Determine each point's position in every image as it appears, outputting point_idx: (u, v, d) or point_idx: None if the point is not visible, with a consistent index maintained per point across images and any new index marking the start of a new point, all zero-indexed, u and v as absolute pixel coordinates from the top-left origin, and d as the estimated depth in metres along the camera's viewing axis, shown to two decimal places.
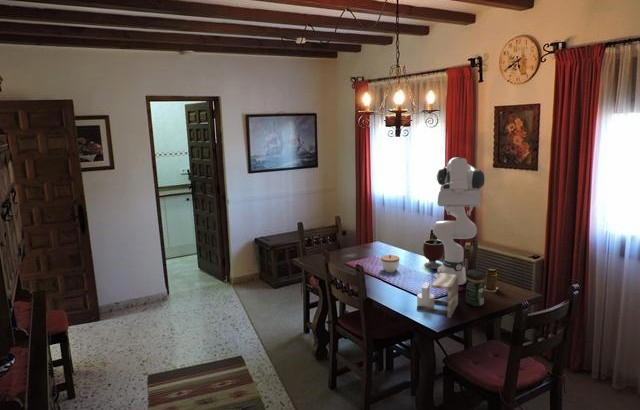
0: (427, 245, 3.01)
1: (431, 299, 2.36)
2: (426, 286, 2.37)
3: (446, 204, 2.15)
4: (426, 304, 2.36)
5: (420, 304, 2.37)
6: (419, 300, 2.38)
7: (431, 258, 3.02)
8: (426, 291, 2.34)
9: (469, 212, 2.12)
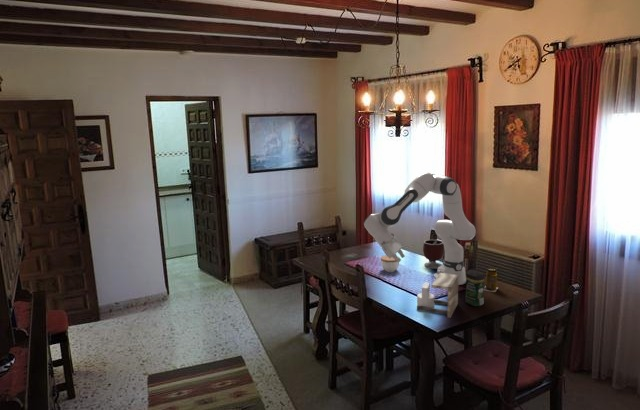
0: (427, 245, 3.01)
1: (431, 299, 2.36)
2: (426, 286, 2.37)
3: None
4: (426, 304, 2.36)
5: (420, 304, 2.37)
6: (419, 300, 2.38)
7: (431, 258, 3.02)
8: (426, 291, 2.34)
9: None
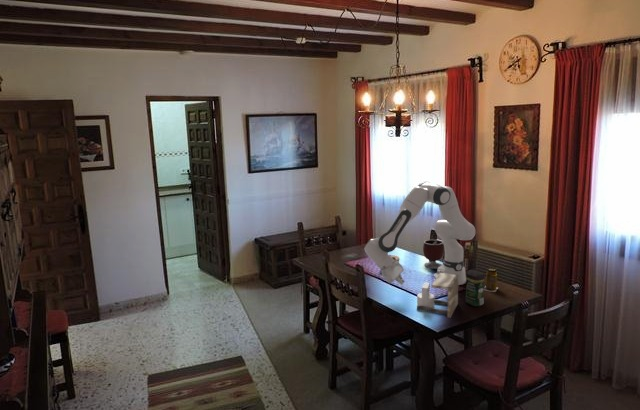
0: (427, 245, 3.01)
1: (431, 299, 2.36)
2: (426, 286, 2.37)
3: None
4: (426, 304, 2.36)
5: (420, 304, 2.37)
6: (419, 300, 2.38)
7: (431, 258, 3.02)
8: (426, 291, 2.34)
9: None
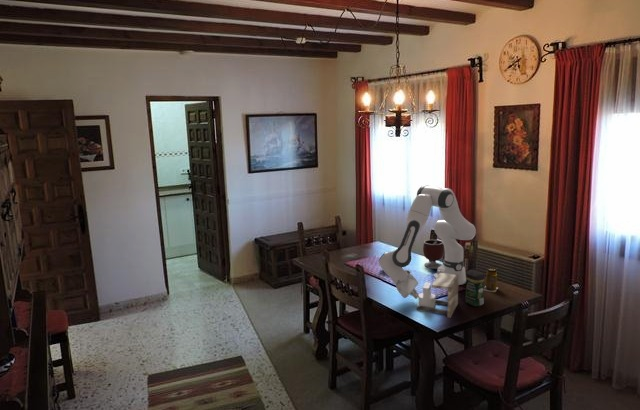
0: (427, 245, 3.01)
1: (432, 299, 2.36)
2: (427, 286, 2.36)
3: None
4: (428, 304, 2.35)
5: (421, 304, 2.37)
6: (420, 300, 2.37)
7: (431, 258, 3.02)
8: (427, 291, 2.34)
9: None
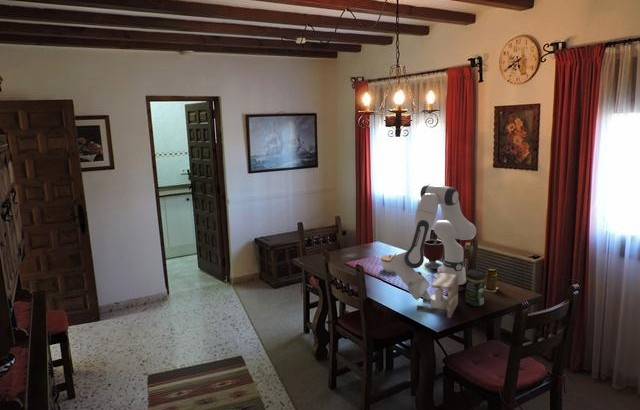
0: (427, 245, 3.01)
1: (445, 301, 2.33)
2: None
3: None
4: (440, 306, 2.32)
5: (433, 306, 2.34)
6: (432, 302, 2.34)
7: (431, 258, 3.02)
8: (440, 293, 2.31)
9: None
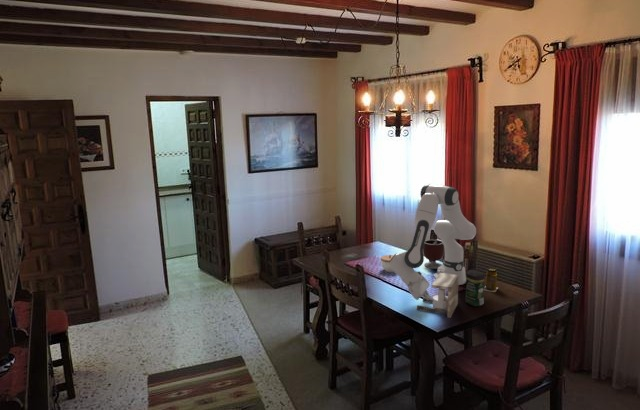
0: (427, 245, 3.01)
1: (447, 301, 2.32)
2: None
3: None
4: (443, 306, 2.32)
5: (436, 307, 2.33)
6: (435, 303, 2.34)
7: (431, 258, 3.02)
8: (442, 293, 2.30)
9: None
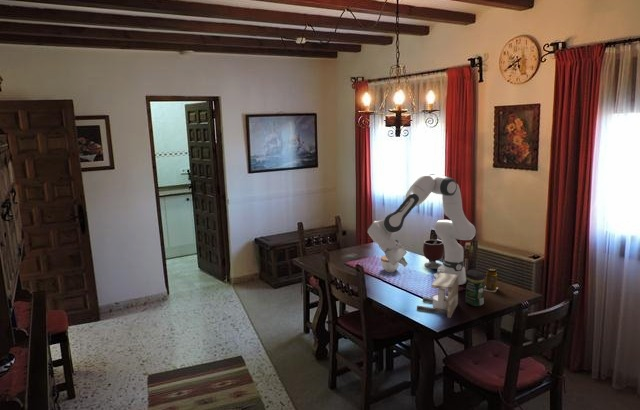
0: (427, 245, 3.01)
1: (447, 301, 2.32)
2: None
3: None
4: (443, 306, 2.32)
5: (436, 307, 2.33)
6: (435, 303, 2.34)
7: (431, 258, 3.02)
8: (442, 293, 2.30)
9: None
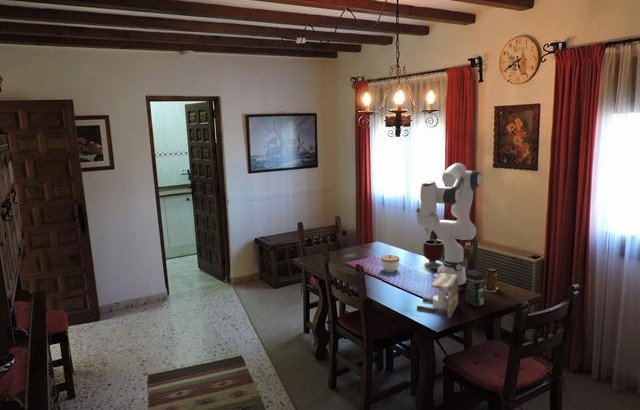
0: (427, 245, 3.01)
1: (447, 301, 2.32)
2: None
3: (421, 225, 2.48)
4: (443, 306, 2.32)
5: (436, 307, 2.33)
6: (435, 303, 2.34)
7: (431, 258, 3.02)
8: (442, 293, 2.30)
9: (427, 234, 2.43)
